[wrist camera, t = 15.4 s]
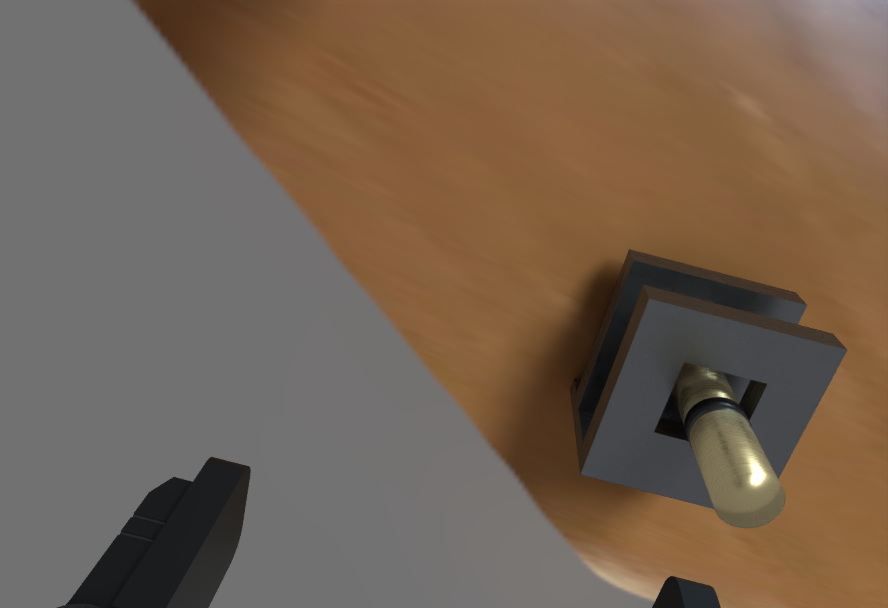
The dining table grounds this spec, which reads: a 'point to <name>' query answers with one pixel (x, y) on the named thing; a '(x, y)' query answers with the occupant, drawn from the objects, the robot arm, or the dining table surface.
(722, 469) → the brass tube
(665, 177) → the dining table surface
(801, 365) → the collar stand
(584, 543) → the dining table surface
